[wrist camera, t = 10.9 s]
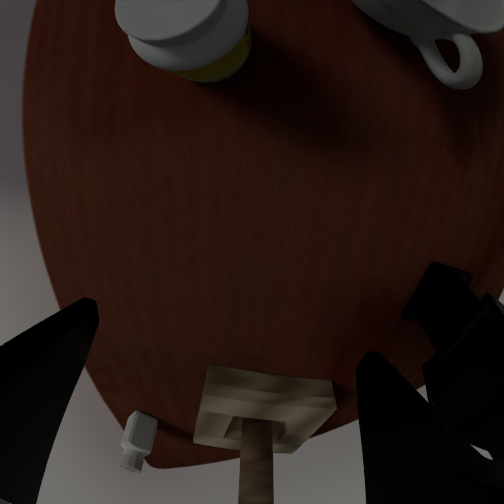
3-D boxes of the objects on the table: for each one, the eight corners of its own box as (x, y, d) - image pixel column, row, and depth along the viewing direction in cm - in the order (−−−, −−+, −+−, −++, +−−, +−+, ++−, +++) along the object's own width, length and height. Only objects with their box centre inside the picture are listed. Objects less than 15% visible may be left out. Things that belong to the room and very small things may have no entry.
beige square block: (331, 380, 30) (337, 410, 26) (290, 431, 36) (292, 454, 32) (209, 363, 28) (204, 395, 25) (196, 419, 35) (192, 443, 31)
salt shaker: (128, 415, 36) (113, 465, 28) (136, 408, 35) (120, 462, 26) (150, 425, 37) (138, 475, 29) (160, 418, 36) (147, 472, 27)
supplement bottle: (266, 60, 15) (275, 14, 7) (192, 97, 16) (129, 91, 8) (228, 0, 13) (204, -77, 4) (157, 37, 14) (78, -4, 6)
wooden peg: (272, 413, 29) (274, 509, 18) (273, 427, 31) (274, 513, 20) (239, 414, 29) (234, 509, 18) (243, 427, 31) (239, 513, 20)
